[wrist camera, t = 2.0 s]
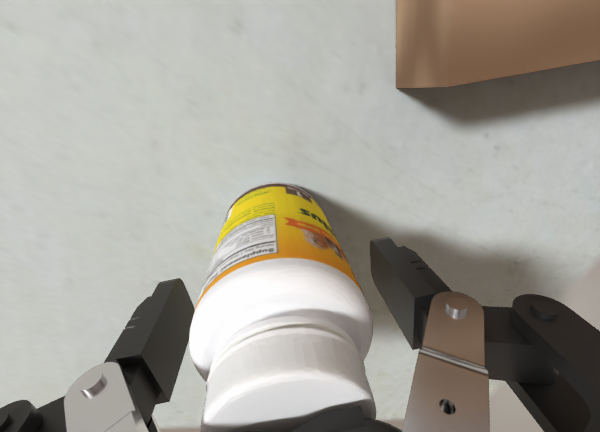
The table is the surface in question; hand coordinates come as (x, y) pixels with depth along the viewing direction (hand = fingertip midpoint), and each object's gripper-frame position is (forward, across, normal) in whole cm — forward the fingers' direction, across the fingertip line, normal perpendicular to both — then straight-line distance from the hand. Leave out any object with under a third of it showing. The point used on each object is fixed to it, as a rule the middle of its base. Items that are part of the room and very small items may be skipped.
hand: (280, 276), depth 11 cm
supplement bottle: (+4, 0, 0) cm, 5 cm away
